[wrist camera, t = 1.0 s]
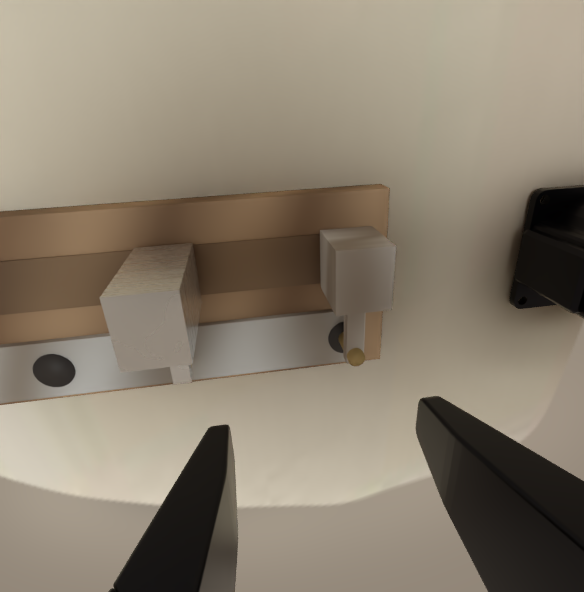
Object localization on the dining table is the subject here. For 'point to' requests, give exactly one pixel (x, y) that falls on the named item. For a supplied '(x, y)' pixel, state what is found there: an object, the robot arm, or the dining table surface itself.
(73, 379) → the board
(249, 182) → the dining table surface
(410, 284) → the dining table surface
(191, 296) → the block
